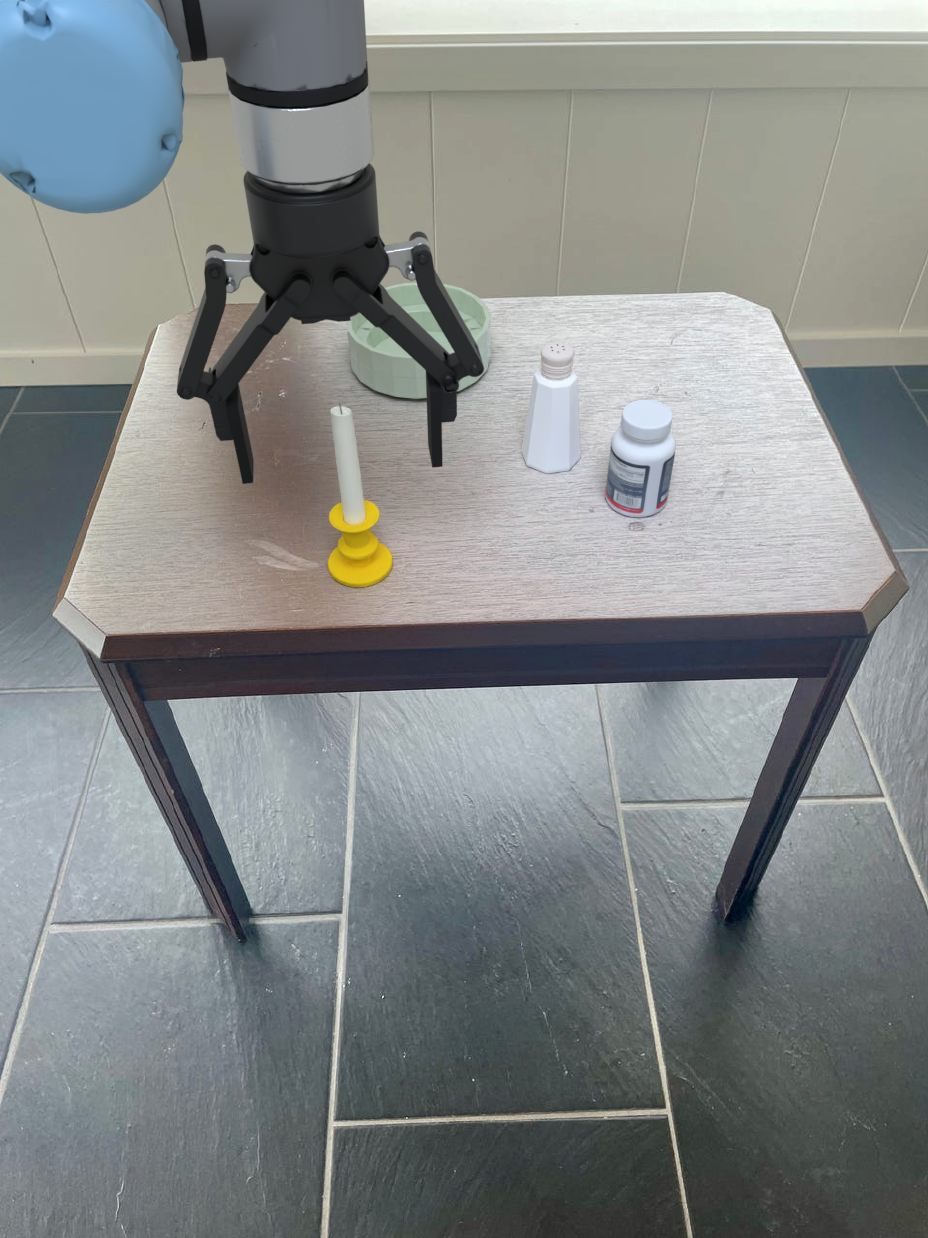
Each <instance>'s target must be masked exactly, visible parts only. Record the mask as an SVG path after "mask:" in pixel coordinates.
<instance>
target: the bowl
mask: <svg viewBox="0 0 928 1238" xmlns="http://www.w3.org/2000/svg"><path fill="white" fill-rule="evenodd" d="M442 284H443V285H444V287H445V289H446V291H447V292H448V294H449V296H450V298H451V299H452V301H453V303H454V305H455V307H456V308H457V310H458V312H459V314H460V315H461V317H462V319H463V321H464V322H465V324H466V326H467V328H468V329H469V331H470V333H471V335H472V337H473V338H474V340H475V342H476V344H477V345H478V348H479V351H480V355H481V358H482V362H483V366H484V371H483V373H482V374H481V375H480V376H478V377H471V376H467V377H464V378H462V379H461V380H460V381H459V388H458V390H457V392H460V391H462V390H464V389H466V388H468V387H469V386H471V385H473V384H474V383H476V382H478V381H479V379H481V377H482V376H483V375H484V374H485V373H486V372H487V371H488V368H489V365H490V362H491V346H492V345H491V343H492V342H491V339H492V338H491V336H492V335H491V333H492V331H491V330H492V329H491V328H492V327H491V326H492V317H491V314H490V311H489V307H488V305H487V304H486V303H485V302H483V300H482V299H481V298H480V297H479V296H478V295H476V294H474V293H472V292H470V291H469V290H467V289H464V288H462V287H459V286H455V285H451V284H448V283H447V284H446V283H443V282H442ZM384 288H385V289H386V291H387V292H388V294H389V295H390V297H391V298H392V299H393V300H394V301H395V302H396V303H397V304H399V305H400V306H401V307H402V308H403V309H404V310H405V311H406V312H407V313H408V314H409V315H410V316H411V317H412V318H413V319H414V320H415V321H416V322H417V323H418V324H419V325H420V326H421V327H422V328H423V329H424V330H425V331H427V332H428V333H429V334H430V335H431V336H432V337H433V338H434V339H435V340H436V341H437V342H438V343H439V344H440V345H441V346H442V347H443V348H444V349H445V350H446V351H447V352H448V353H449V354H452V353H454V350H453V348H452V347H451V345H450V343H449V342H448V340H447V338H446V337H445V335H444V333H443V332H442V330H441V328H440V327H439V325H438V323H437V321H436V320H435V318H434V316H433V315H432V313H431V311H430V310H429V308H428V306H427V305H426V303H425V301H424V299H423V298H422V296H421V294H420V292H419V289H418V286H417V282H416V281H414V282H404V283H403V282H402V283H397V284H393V285H390V286H385V287H384ZM350 318H351V321H345V323H346V332H347V340H348V348H349V349H348V350H349V357H350V358H349V359H350V367H351V371H352V373H354V375H355V376H356V378H357V379H358V380H359V381H360V382H361V383H362V384H363V385H365V386H367V387H368V388H370V389H371V390H373V391H375V392H378V393H381V394H385V395H388V396H392V397H394V398H405V399H417V400H418V399H427V395H426V370H425V369H424V368H423V367H422V366H421V365H420V364H419V363H417V362H416V361H415V360H414V359H413V358H412V357H411V356H410V355H409V354H408V353H407V352H406V351H404V350H403V349H402V348H401V347H400V346H399V345H398V344H397V343H396V342H395V341H394V340H393V339H392V338H390V337H389V336H388V335H387V334H386V333H385V332H384V331H383V330H382V329H381V328H379V327H378V328H377V327H375V326H374V325H373V324H371V323H370V322H369V321H368V320H367V319H366V318H365V317H364V316H363V315H362V314H361V313H358V314H357V315H355V316H353V317H350Z"/></svg>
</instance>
